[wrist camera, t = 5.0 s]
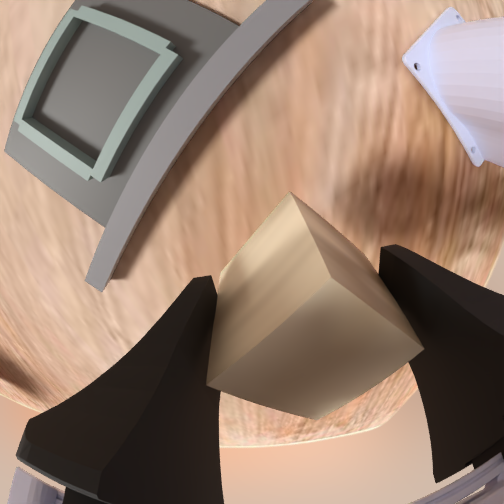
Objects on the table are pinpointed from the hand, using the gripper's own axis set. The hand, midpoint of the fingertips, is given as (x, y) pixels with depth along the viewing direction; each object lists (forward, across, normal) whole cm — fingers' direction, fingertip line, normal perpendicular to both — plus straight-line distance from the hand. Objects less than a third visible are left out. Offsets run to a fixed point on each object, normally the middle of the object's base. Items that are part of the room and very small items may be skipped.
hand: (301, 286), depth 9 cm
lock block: (+2, 0, 0) cm, 2 cm away
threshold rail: (+7, +5, -5) cm, 10 cm away
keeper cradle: (+7, +9, -10) cm, 15 cm away
